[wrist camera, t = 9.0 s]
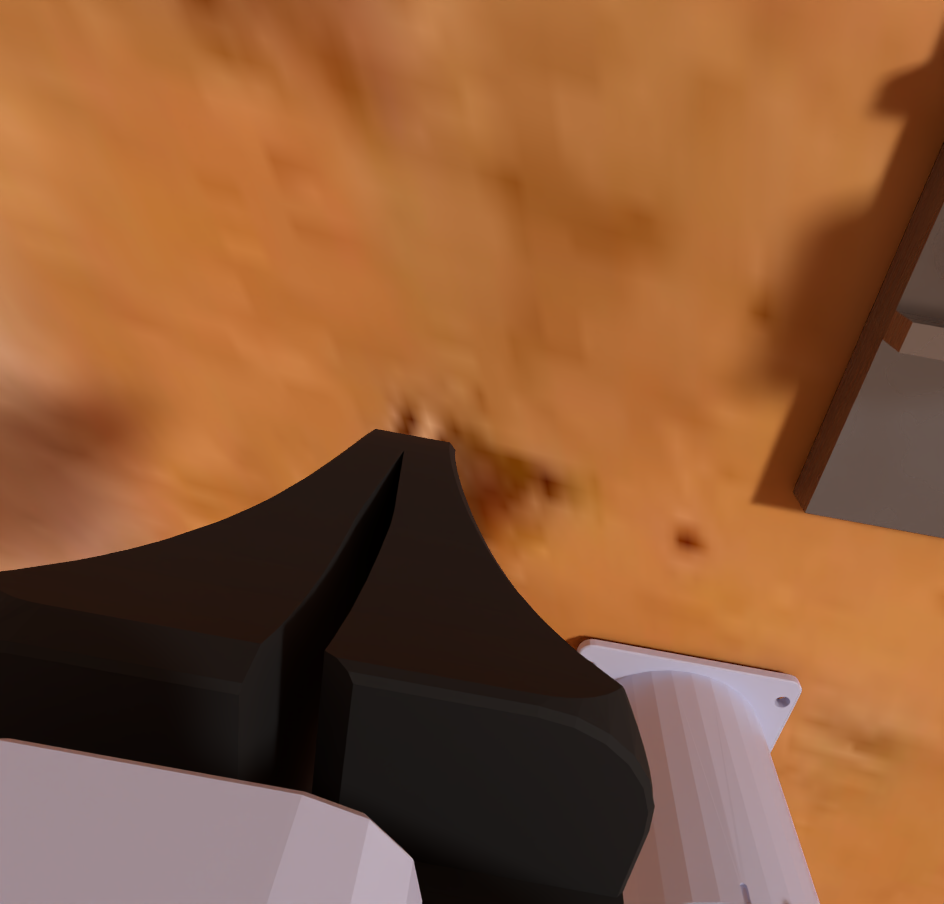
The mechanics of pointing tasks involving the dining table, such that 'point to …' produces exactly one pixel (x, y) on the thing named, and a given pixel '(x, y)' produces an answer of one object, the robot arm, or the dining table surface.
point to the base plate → (891, 395)
